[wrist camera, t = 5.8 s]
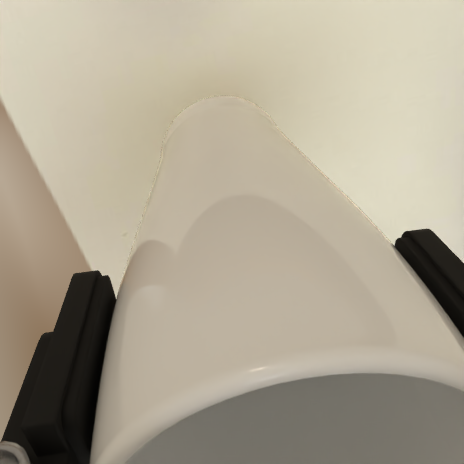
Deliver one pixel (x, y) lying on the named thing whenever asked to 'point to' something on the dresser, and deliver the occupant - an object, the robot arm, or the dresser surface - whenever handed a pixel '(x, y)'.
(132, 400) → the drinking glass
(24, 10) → the dresser surface
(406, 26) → the dresser surface
